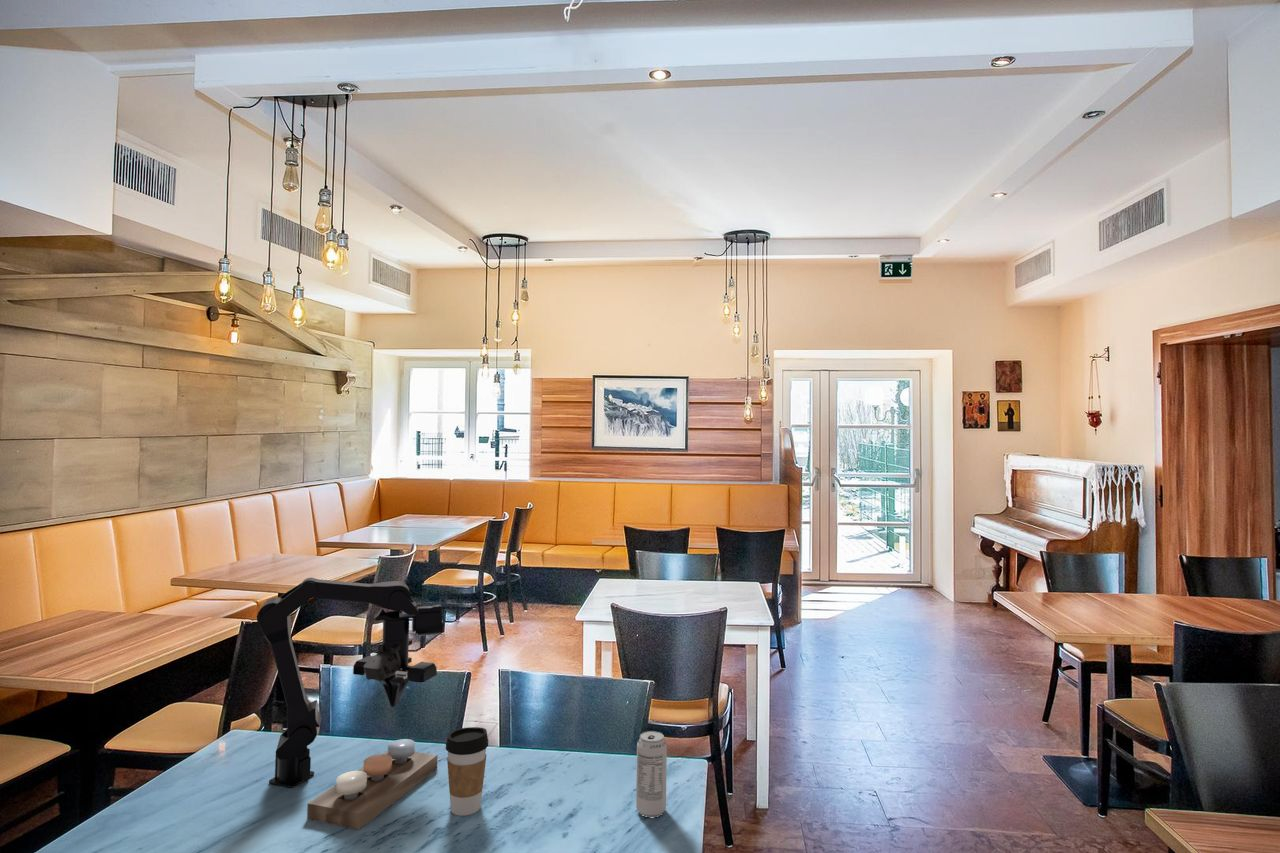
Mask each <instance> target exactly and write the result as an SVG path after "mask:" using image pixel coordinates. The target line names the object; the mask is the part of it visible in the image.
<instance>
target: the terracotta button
mask: <svg viewBox="0 0 1280 853" xmlns="http://www.w3.org/2000/svg"><path fill="white" fill-rule="evenodd" d="M362 767H363V772H365V773H366V774H367V775H368V776H371V781H374V782H380V781H382V780H383V779H384V774H386V773H388V772H389V771H390V770H391V769H392V757H391V756H390V755H387V754H383V753H379V754H373V755H371V756H370V755H369V756H368V757H366V758H365V759H364V760H363V766H362Z"/></svg>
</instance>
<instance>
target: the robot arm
mask: <svg viewBox="0 0 1280 853" xmlns="http://www.w3.org/2000/svg"><path fill="white" fill-rule="evenodd" d="M311 599H321V600H332V601H333V600H334V601H342V602H343V601H346V602H359V603H367V604H371V605H374V606H376V607H379V608H380V610H379V611H378V612H377V613H375V614H374V621H376V622H378V621H379V622H380V621H382V643H379V644H378V647H377V651H376V654H374V655H368V656H365V657H362V658H360V659H358V660H356V661H355V663H354V664H353V666H352V673H353V675H356V676H357V675H358V676H365V678H366V680H369V681H370V680H374V681H376V682H379V683H381V685H382V686H383V688H384V691H385V693H386V696H387V699H388V703H389V705H390V707H391V708H395V707H397V705H398V703H399V702H400V700H401V698H402V695H403V693H404V690H405V688H406V687H407V685H408V683H409V682H414V683H425V682H427V681H428V680H431V679H432V678H434V677H436V676H437V675H438V674H437V673H438V672H437V670H438V669H437V665H436V664H435V663H434V662H428V661H427V662H425V661H420V662H418V663H416V664H414V665H409V664H411V663H412V658H413V657H409V651H410V650H409V646H412V645H413V640H412V639H410V619H411V632H412V633H415V635H416V636H417V637H423V636H425V637H426V636H432V635H433V636H434V635H435V636H436V635H443V630H444V620H443V611H442V608H443V607H442V605H441V604H433V605H424V606H417V603H416V601H414V600H413V598H412V596H411V592H410V588H409V586H408V585H407V584H406V583H405V582H404V581H401V580H393V581H392V580H391V581H381V582H376V583H375V582H374V583H363V582H362V583H361V582H351V581H341V580H331V579H330V580H329V579H318V578H315V577H307V578H305V579H304V580H303V581H301V583H299V584H298V585H295V587H292V588H290V589H289V590H288V591H286V592H285V593H283V594H281V596H279V597H278V596H276V597H275V596H274V597H271V598H268V599H267V600H266V601H265V602H264V603H263V604H262V606H261V607H260V609H259V611H258V612H257V614H256V622H257V625H258V626H259V628H260V631H261V632H262V634H263V636H264V638H265V639H266V641H267V642H268V643H269V645H270V647H271V651H272V655H273V658H274V662H275V666H276V670H277V673H278V677H279V681H280V685H281V688H282V693H283V697H284V700H285V705H286V729H285V730H284V731H283V732H282V733H280V735H279V739H278V743H277V747H276V750H275V761H274V762H275V763H274V764H275V765H274V777H273V778H271V779H269V781H268V784H271V785H277V786H282V787H288V788H294V787H296V786H298V785H299V784H301V783H303V782H304V781H306V780H307V779H309V778H311V777H313V776H314V775H315V771H312V770H311V763H312V757H311V756H310V754H311V748H308V746H310V745H311V744H312V743H314V741H315V739H316V738H317V736H318V730H319V729H318V728H320V726H321V722H322V714H321V713H320V712H319V707H318V700H317V699H315V700H313V701H310V700H309V698H308V696H307V695H306V691H305V686H304V684H303V679H302V675H301V671H300V666H299V663H298V660H297V656H296V652H295V648H294V645H293V640H292V636H291V635H292V633H291V632H292V630H291V629H292V627H291V626H292V624H291V623H292V622H291V621H292V620H291V615H292V614H293V613H294V612H296V611H298V609H299V608H300V607H302V606H303V605H304V604H306V603H307V602H308V601H309V600H311ZM386 609H387V610H386ZM400 611H402V612H403V613H402V612H400Z"/></svg>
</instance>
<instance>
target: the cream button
mask: <svg viewBox="0 0 1280 853" xmlns="http://www.w3.org/2000/svg"><path fill="white" fill-rule="evenodd" d="M335 785H336V792H337V793H339V794H343V795H344V800H348V801H354V800H355V799H357V798H358V792H360V791H362V790H364V789H365V788H366V786H367V774H366V773H365V772H363V771H358V770H350V771H346V772H345V773H342V774H340V775H338V776H337V778H336V784H335Z"/></svg>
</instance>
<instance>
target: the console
mask: <svg viewBox="0 0 1280 853" xmlns="http://www.w3.org/2000/svg"><path fill="white" fill-rule="evenodd" d="M382 754H387V755H388V750H387V751H385V752H384V753H382ZM437 769H438V754H433V753H427V752H419V751H416V750H414V754H413V755H412V756H410V757H408V758H407V763H405V764H404V765H398V764H395V759H392V769H391V770H390V771H389V772H388V773H386V774H384V779H383V780H382V781H380V782H374V781H371V776H368V775H367V786H366V788H365V789H364V790H362V791H360V792H358V798H357V799H355V800H354V801H348V800H344V795H343V794H339V793H337V792H336V784H335V785H333V786H332V787H330V788H329V789H327V790H325V791H324V792H323V793H322V794H320V795H318V796H316V797H315V798H314V799H312V800H310V801H309V802H308V803H307V810H306V812H307V814H306V816H307V817H306V819H307V820H309V819H311V820H310V821H314V820H315V821H314V822H320V823H324V824H330V825H334V826H339V825H340V826H339V827H344V826H345V828H349V827H350V828H349V829H354V828H356V829H355V830H361V829H362V828H363V827H365V826H366V825H367V824H369V821H370V820H371V821H372V820H374V819H375V818H376V817H377V816H379V815H380V814H381V813H382V812H384V811H385V810H386V809H388V807H390V806H392V805H393V804H394V803H395V802H396V801H398V800H399V799H400V798H401V797H402V796H404V795H406V794H407V793H408V792H409V791H410V790H412V789H413V788H414V787H415V786H417V785H418V784H420V783H421V782H422V781H424V780H425V779H426V778H427V777H428V776H430V775H431V774H432V773H434V772H435V771H436V770H437ZM357 771H363V766H362V767H361V768H359V769H358V770H357ZM378 814H379V815H378ZM374 817H375V818H374ZM371 821H370V822H371ZM366 823H367V824H366ZM365 824H366V825H365ZM364 825H365V826H364ZM361 827H362V828H361ZM360 828H361V829H360Z"/></svg>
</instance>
